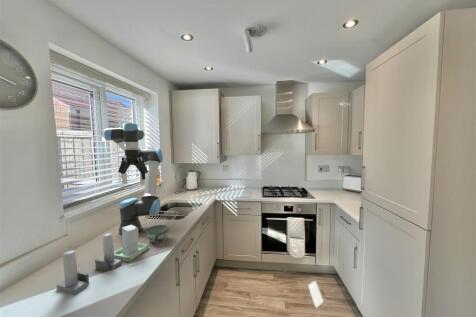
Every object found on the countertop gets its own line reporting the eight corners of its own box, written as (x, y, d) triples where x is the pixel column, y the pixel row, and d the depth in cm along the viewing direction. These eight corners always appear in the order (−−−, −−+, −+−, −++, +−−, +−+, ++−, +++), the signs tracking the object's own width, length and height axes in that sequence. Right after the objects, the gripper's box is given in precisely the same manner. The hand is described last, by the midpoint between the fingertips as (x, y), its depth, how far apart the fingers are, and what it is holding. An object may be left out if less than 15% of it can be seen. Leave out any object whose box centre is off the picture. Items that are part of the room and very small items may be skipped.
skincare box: (122, 252, 116) (120, 227, 115) (132, 248, 121) (131, 224, 120) (129, 257, 111) (127, 231, 110) (139, 252, 116) (138, 227, 115)
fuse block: (57, 289, 88) (54, 253, 87) (106, 260, 110) (104, 231, 109) (74, 294, 84) (71, 257, 83) (121, 263, 106) (119, 234, 105)
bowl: (173, 237, 135) (172, 226, 135) (159, 247, 123) (158, 234, 122) (156, 235, 140) (156, 224, 139) (141, 244, 127) (140, 232, 126)
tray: (110, 258, 112) (110, 254, 111) (132, 245, 125) (131, 241, 125) (128, 262, 108) (128, 257, 108) (148, 248, 122) (148, 244, 121)
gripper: (110, 149, 120) (112, 184, 122) (143, 149, 112) (145, 186, 114) (121, 149, 127) (123, 182, 129) (153, 148, 120) (155, 184, 121)
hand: (133, 184), depth 121 cm, fingers open, 13 cm apart
